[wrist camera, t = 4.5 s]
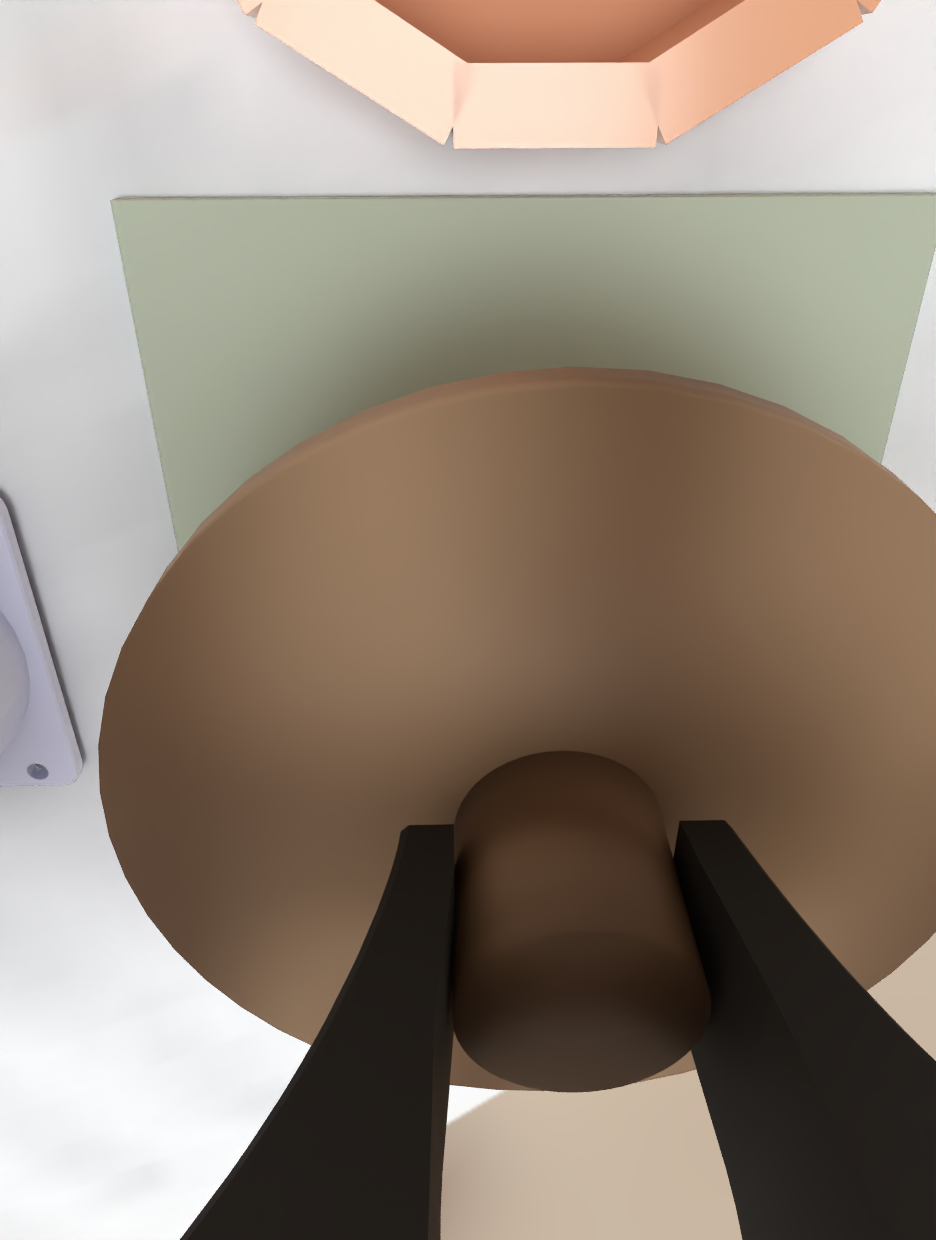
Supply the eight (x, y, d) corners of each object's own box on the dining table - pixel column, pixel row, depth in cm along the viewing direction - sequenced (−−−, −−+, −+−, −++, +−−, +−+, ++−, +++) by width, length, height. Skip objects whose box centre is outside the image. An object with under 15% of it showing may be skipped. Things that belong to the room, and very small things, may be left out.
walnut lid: (198, 1054, 17) (135, 1285, 14) (8, 373, 10) (-203, 510, 7) (880, 1046, 17) (979, 1275, 14) (1141, 360, 10) (1459, 490, 7)
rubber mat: (233, 811, 24) (230, 821, 24) (117, 198, 16) (110, 200, 16) (788, 803, 24) (792, 813, 24) (938, 193, 16) (948, 195, 16)
